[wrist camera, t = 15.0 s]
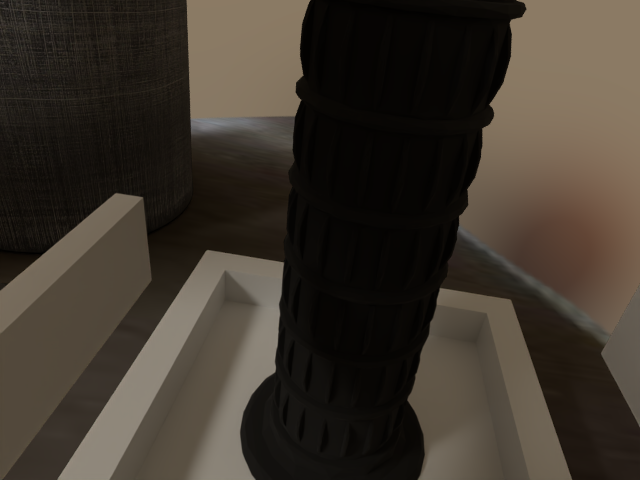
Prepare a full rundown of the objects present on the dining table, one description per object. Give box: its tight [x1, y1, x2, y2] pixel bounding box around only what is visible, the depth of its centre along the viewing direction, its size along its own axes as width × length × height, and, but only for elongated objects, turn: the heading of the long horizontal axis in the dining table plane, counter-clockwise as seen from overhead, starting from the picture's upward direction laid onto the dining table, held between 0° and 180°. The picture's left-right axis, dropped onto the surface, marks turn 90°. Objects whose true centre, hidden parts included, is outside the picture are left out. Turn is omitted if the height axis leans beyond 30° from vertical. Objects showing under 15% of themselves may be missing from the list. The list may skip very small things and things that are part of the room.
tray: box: [58, 250, 572, 480], centre depth 26 cm, size 22×22×4 cm
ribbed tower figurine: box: [240, 0, 526, 480], centre depth 19 cm, size 10×26×10 cm
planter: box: [0, 0, 193, 253], centre depth 42 cm, size 22×22×20 cm
